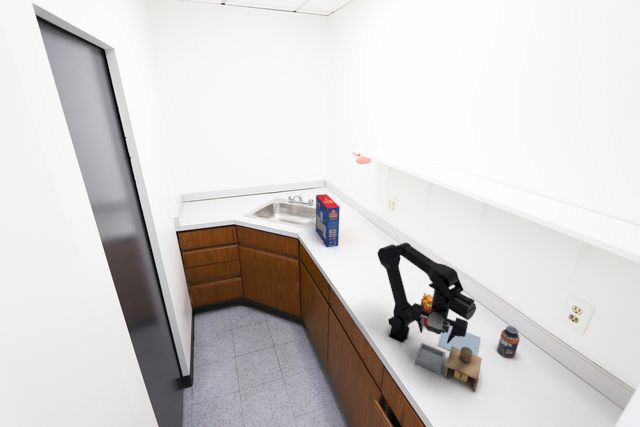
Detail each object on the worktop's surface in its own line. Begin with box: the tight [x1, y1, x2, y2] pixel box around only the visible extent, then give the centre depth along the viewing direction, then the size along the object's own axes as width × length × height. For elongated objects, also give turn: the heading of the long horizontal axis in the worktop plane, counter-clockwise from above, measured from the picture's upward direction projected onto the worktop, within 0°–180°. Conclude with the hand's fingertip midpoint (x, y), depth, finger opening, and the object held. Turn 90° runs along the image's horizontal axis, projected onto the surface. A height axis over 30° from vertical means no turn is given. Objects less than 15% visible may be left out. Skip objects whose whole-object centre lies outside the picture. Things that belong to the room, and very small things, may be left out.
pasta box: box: [315, 193, 341, 248], centre depth 203 cm, size 28×8×28 cm, turn 16°
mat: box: [437, 326, 482, 357], centre depth 119 cm, size 14×14×1 cm
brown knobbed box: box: [443, 346, 483, 392], centre depth 103 cm, size 10×10×10 cm
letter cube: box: [453, 370, 469, 383], centre depth 104 cm, size 4×4×4 cm
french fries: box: [420, 292, 433, 327], centre depth 127 cm, size 9×4×13 cm, turn 15°
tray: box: [413, 342, 447, 375], centre depth 110 cm, size 9×9×2 cm
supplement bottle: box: [497, 325, 520, 359], centre depth 112 cm, size 6×6×11 cm
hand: (434, 337), depth 107 cm, fingers open, 9 cm apart
